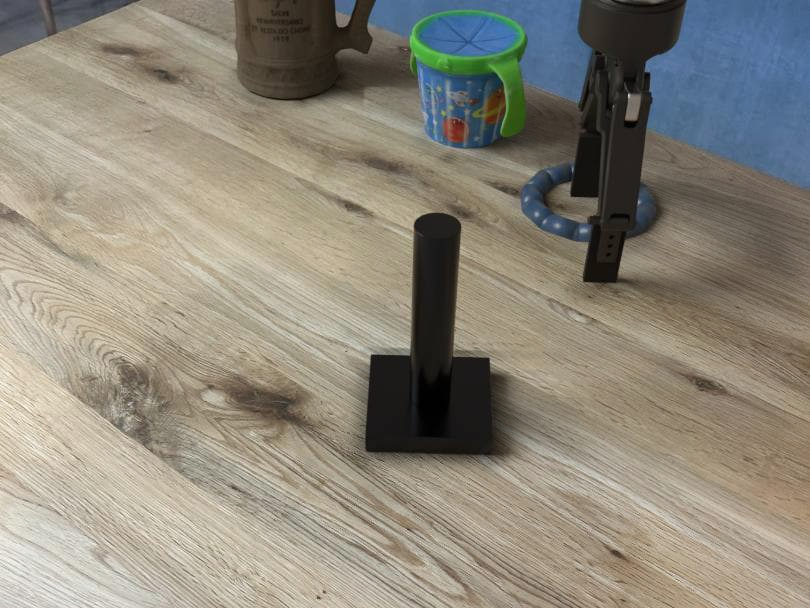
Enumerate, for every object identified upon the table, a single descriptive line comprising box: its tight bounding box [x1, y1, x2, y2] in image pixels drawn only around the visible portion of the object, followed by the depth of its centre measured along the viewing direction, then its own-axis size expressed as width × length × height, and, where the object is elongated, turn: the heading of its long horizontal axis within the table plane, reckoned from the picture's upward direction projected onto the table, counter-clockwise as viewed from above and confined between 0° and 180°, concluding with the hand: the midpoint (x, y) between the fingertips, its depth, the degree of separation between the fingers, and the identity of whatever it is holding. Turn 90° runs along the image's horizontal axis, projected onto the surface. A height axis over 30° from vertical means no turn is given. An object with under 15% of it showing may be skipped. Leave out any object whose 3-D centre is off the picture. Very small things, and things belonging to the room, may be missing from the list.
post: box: [364, 212, 495, 455], centre depth 72 cm, size 9×9×16 cm
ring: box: [519, 161, 658, 243], centre depth 94 cm, size 12×12×2 cm
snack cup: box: [409, 9, 529, 149], centre depth 100 cm, size 16×10×10 cm
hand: (590, 243), depth 92 cm, fingers open, 12 cm apart
